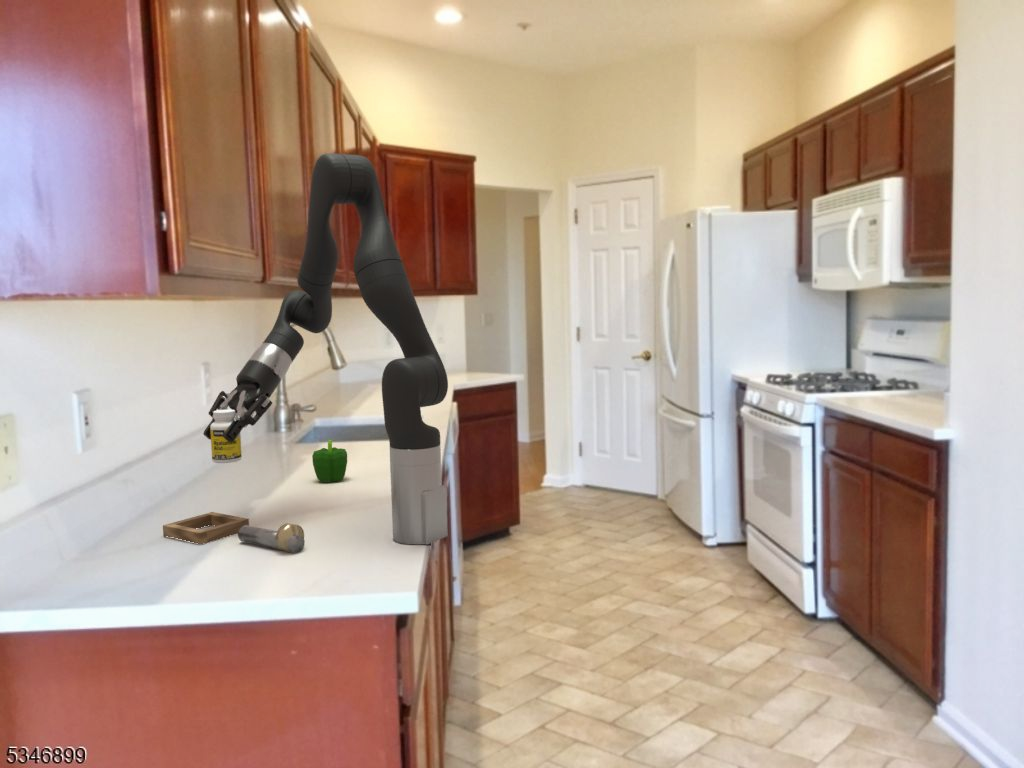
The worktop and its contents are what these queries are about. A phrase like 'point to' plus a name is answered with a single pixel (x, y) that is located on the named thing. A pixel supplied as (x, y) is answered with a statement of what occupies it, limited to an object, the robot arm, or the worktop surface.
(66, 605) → the worktop surface
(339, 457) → the bell pepper
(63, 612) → the worktop surface
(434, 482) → the robot arm
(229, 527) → the collar block
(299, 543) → the shaft
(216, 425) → the supplement bottle
